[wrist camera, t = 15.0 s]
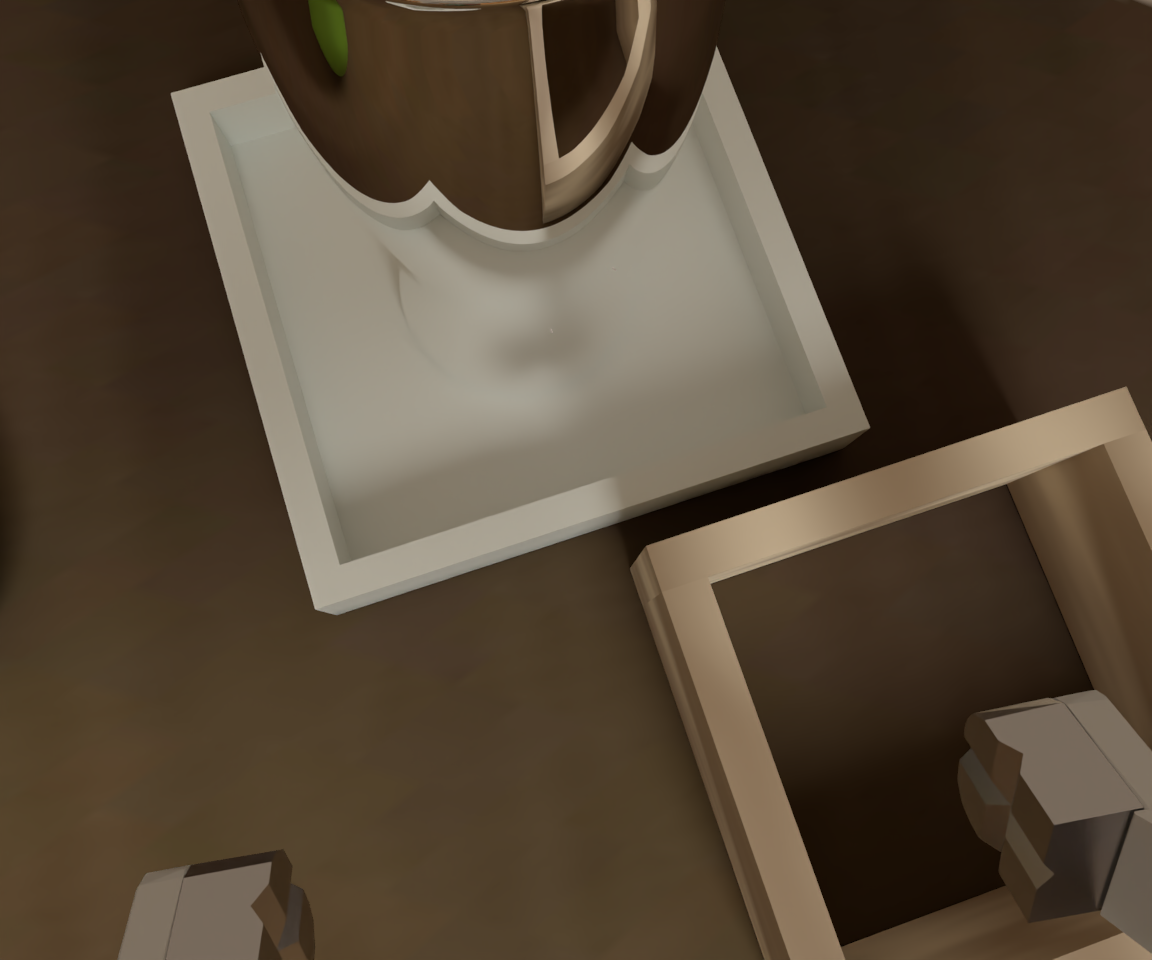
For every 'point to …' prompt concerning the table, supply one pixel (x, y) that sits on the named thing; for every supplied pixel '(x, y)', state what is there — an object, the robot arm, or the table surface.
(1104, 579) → the square frame
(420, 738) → the table surface
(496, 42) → the beer glass
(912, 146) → the table surface
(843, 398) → the tray
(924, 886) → the table surface
